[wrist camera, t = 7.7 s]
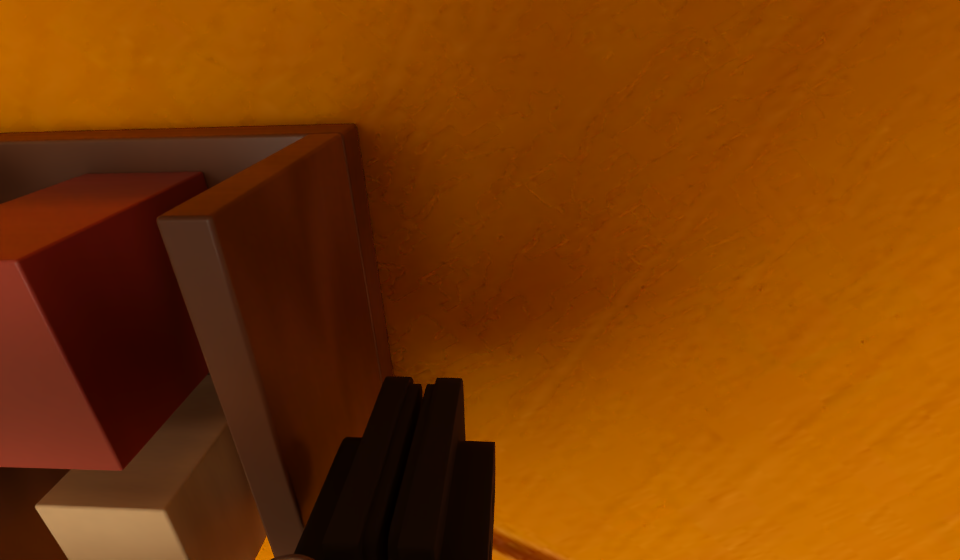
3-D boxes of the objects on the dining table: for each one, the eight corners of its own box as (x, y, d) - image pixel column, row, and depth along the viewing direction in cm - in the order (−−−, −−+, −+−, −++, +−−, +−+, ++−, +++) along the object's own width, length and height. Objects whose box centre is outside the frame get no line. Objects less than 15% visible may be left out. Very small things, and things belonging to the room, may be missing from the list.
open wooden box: (-17, 133, 13) (-447, 224, 7) (357, 122, 12) (210, 216, 6) (141, 464, 19) (-32, 668, 13) (408, 473, 18) (353, 694, 12)
